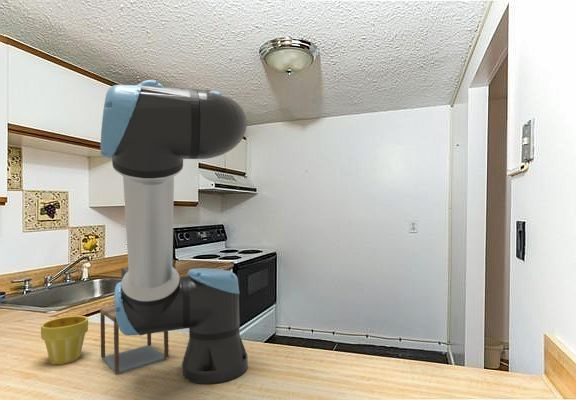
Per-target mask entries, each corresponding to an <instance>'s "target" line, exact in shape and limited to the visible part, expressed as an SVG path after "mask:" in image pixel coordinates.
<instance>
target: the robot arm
mask: <svg viewBox="0 0 576 400" xmlns="http://www.w3.org/2000/svg"><path fill="white" fill-rule="evenodd" d="M106 91H107V92H106V94H105V98H104V104H103V110H102V111H103V112H102V118H101V119H102V120H101V121H102V122H101V131H100V155H101V156H102V157H104V158H106V159H111V161H112V162H111V163H112V168H113V170H114V171H115V172H116V173H117V174H119V175H121V176H122V179H123V183H122V184H123V198H124V214H125V217H124V218H125V230H126V233H125V235H126V247H127V249H126V250H127V268H128V269H129V271H128V272H127V273H126V274H125V275H124V277H123V279H122V282H121V281H120V282H118V283H116V284H115V287H114V296H113V297H114V300H113V301H114V303H113V304H114V306H115V310H116V319H117V323H118V327H119V332H120V333H122V335H125V336H127V337H128V336H144V335H147V334H151V335H152V334H158V333H164V332H165V331H168V332H170V331H172V332H173V331H176V330H177V331H178V330H184V329H185V330H186V329H188V335H189V336H188V337H189V338H188V342H187V345H186V349H185V352H184V355H183V359H182V363H181V375H182V377H183V378H184V379H185V380H187V381H189V382H192V383H195V384H205V385H206V384H208V385H209V384H219V383H224V382H228V381H231V380H234V379H236V378H239V377H240V376H242V375H243V374H244V373H245V372H246V371H247V370H248V368H249V366H248V365H249V363H248V361H249V360H248V354H247V352H246V348H245V345H244V342H243V340H242V336H241V334H240V333H241V332H240V331H241V330H240V293H241V292H240V287H239V279H238V276H237V274H236V273H234V272H232V271H230V270H226V269H219V268H209V267H208V268H207V267H205V268H204V267H203V268H202V267H200V268H199V267H198V268H191V269H189V270H188V272H187V275H186V276H180V274H179V272H178V271H177V269H176V268H175V267H173V263H174V262H173V260H174V259H173V258H174V257H173V256H174V255H173V254H174V248H173V247H174V205H175V204H174V203H175V202H174V199H175V197H174V196H175V195H174V194H175V176H177V175H178V174H179V173H181V171H182V170H183V167H184V160H206V159H212V158H216V157H220V156H223V155H225V154H226V153H229V152H231V151H232V150H233V149H235V148H236V147H238V145H239V144H240V142H242V140H243V139H244V136H245V134H246V131H247V125H248V123H247V122H248V121H247V116H246V113H245V111H244V109H243V108H242V106H241V105H240V104H239V103H238V102H237V101H236V100H234V99H233V98H230V97H228V96H225V95H222V93H221V91H218V90H217V91H216V90H212V89H199V88H198V89H197V88H187V87H186V88H185V87H178V86H177V87H175V86H167V85H166V86H165V85H163V84H162V83H160V82H158V81H156V80H152V79H146V80H144V81H141V82H140V83H139V84H138V83H137V84H136V85H132V84H114V85H112V86H111V87H109V88H108V90H106Z"/></svg>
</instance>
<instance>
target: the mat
mask: <svg viewBox="0 0 576 400" xmlns="http://www.w3.org/2000/svg"><path fill="white" fill-rule="evenodd" d="M167 359H168V358H165V357H164V353H161V352H160V351H158V349H156V348H154V347H153V346H152V345H150V346H148V345H147V344H146V345H144V346H139V347H136V348H132V349H128V350H125V351H121V352H120V351H119V372H117V373H115V375H118V374H122V373H125V372H128V371H132V370H135V369H139V368H143V367H145V366H148V365H151V364H155V363H158V362H162V361H165V360H167ZM101 360H103V361H104V363H105V364H106V365H107V366H108V367H109V369H111V370H112V372H114V353H113V354H109V355H105V357H104V358H101Z"/></svg>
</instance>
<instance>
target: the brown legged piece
mask: <svg viewBox="0 0 576 400" xmlns="http://www.w3.org/2000/svg"><path fill="white" fill-rule="evenodd" d="M120 270H121V273H120V274H121V275H120V276H121V277H120V279H121V281H120V282H122V279H123V277H124V275H125V274H126V273H127V272H128V271H129V269H128V267H126V268H125V267H124V268H121V269H120ZM99 309H100V313H99V315H100V316H99V317H100V358H101V359H102V358H104V357H105V356H106V330H105V329H106V318H108V319H109V320H110V321H112V322H113V354H114V371H113V373H115V374H116V373H117V372H119V353H120V342H119V341H120V339H119V338H120V337H119V336H120V334H119V333H120V329H119V327H118V323H117V319H116V310H115V305H111V306H110V305H109V306H106V307H105V306H104V307H100V308H99ZM105 317H106V318H105ZM146 336H147V337H146V338H147V339H146V343H147V344H146V346H147V345H148V346H152V333H151V334H146ZM163 355H164V357H165V358H167V359H168V358H170V357H169V355H170V354H169V331H165V332H163Z"/></svg>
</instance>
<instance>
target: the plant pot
mask: <svg viewBox="0 0 576 400" xmlns="http://www.w3.org/2000/svg"><path fill="white" fill-rule="evenodd" d="M40 325H41V326H40V335H41V340H42V341H44V343H45V344H44V345H45V348H46V351H47V355H48V359H49V362H50V364H52V365H64V364H68V363H72V362H74V361H76V360H78V359H79V358H80V357H81V354H82V353H81V352H82V348H83V345H84V341H85V340H84V339H85V336H86V334H87V332H88V330H89V318H88V316H85V315H68V316H62V317H57V318H52V319H50V320H47V321H44V322H43V323H42V324H40Z"/></svg>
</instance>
